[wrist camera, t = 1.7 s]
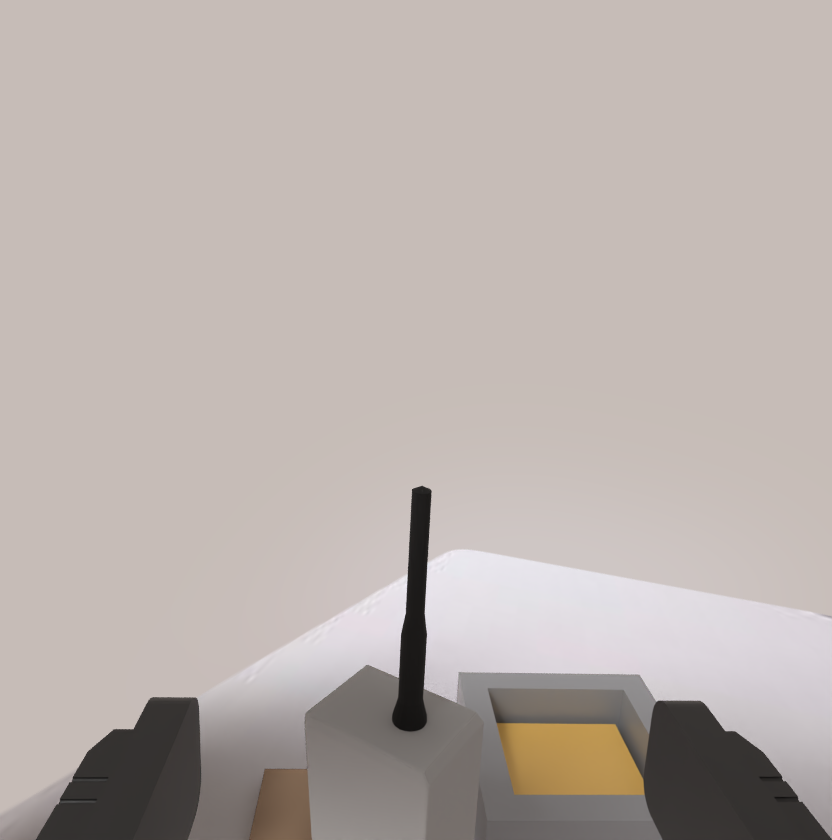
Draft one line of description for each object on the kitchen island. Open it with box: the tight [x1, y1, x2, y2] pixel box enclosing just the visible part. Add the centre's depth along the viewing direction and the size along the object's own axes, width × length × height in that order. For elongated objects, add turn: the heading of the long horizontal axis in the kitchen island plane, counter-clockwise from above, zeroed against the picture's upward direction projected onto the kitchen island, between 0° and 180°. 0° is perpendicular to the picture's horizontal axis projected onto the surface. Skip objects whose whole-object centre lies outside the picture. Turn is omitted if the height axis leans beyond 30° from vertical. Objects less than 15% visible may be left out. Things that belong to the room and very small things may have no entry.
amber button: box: [496, 723, 645, 795], centre depth 36 cm, size 7×7×3 cm
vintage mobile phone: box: [305, 486, 484, 840], centre depth 24 cm, size 4×5×25 cm
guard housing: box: [457, 672, 662, 840], centre depth 36 cm, size 15×14×8 cm
